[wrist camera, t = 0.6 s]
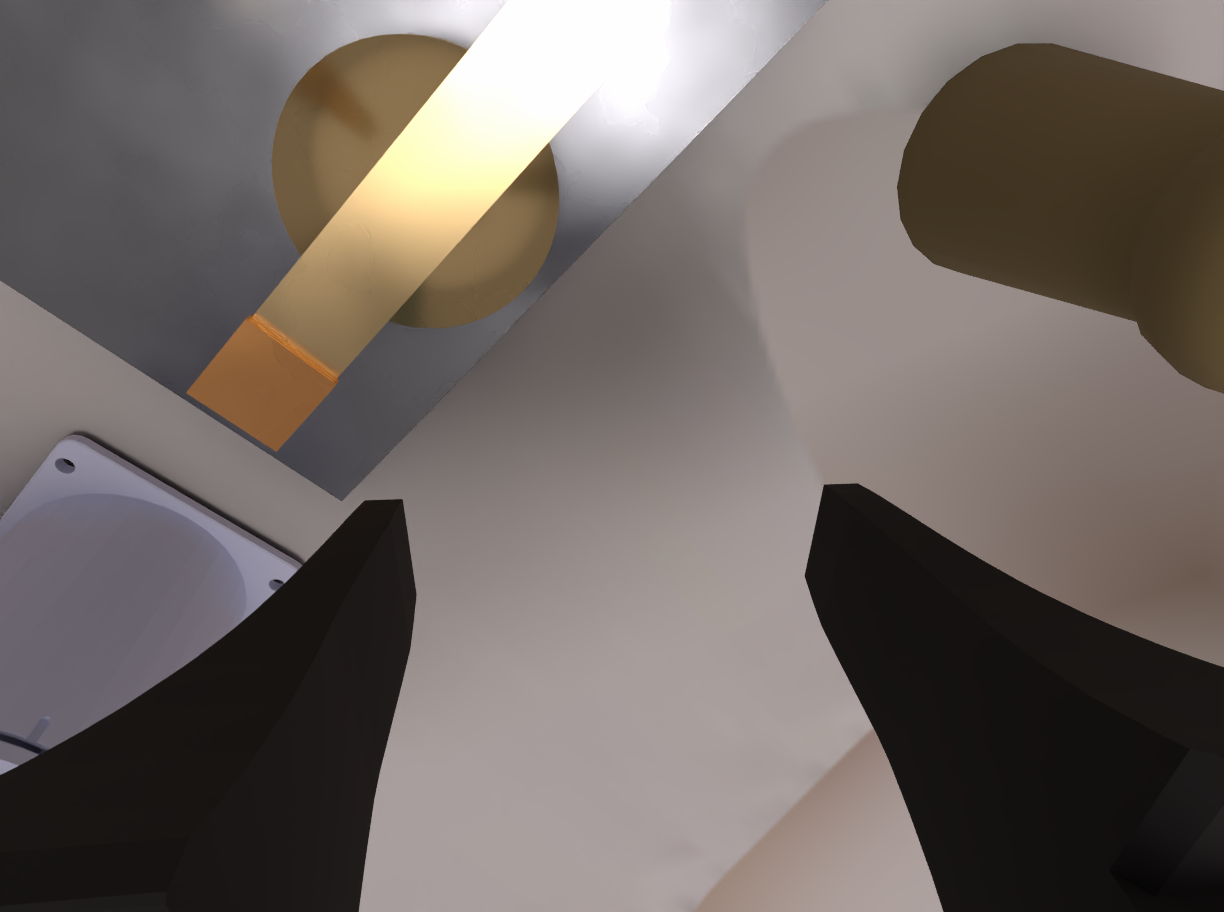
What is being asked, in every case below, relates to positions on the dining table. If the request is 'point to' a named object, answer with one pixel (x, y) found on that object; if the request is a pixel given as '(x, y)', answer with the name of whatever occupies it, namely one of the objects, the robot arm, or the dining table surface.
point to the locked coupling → (409, 196)
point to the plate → (243, 187)
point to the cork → (1080, 191)
